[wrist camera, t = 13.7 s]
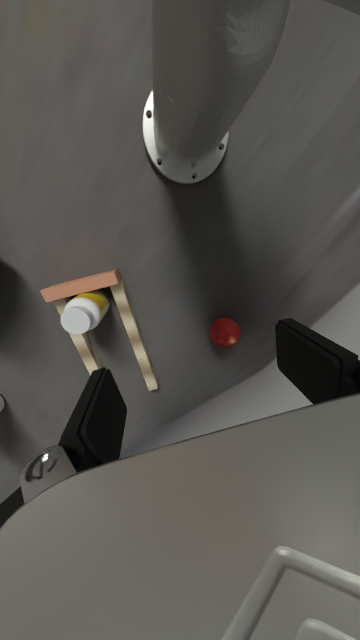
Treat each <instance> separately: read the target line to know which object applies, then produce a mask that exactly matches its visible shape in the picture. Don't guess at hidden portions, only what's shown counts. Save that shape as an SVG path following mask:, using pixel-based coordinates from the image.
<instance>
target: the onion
mask: <svg viewBox="0 0 360 640" xmlns="http://www.w3.org/2000/svg"><path fill="white" fill-rule="evenodd" d="M209 334H210V338H211V340H212V342H213V343H214V344H215V345H216V346H219V347H221V348H229V347H232V346H234V345H235V344H237V343H238V341H239V339H240V335H241V330H240V327H239V325H238V324H237V323H236V322H235V321H234V320H232V319H230V318H223V317H222V318H219V319H217V320H216V321H214V322H213V323H212V325H211V327H210V330H209Z"/></svg>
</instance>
